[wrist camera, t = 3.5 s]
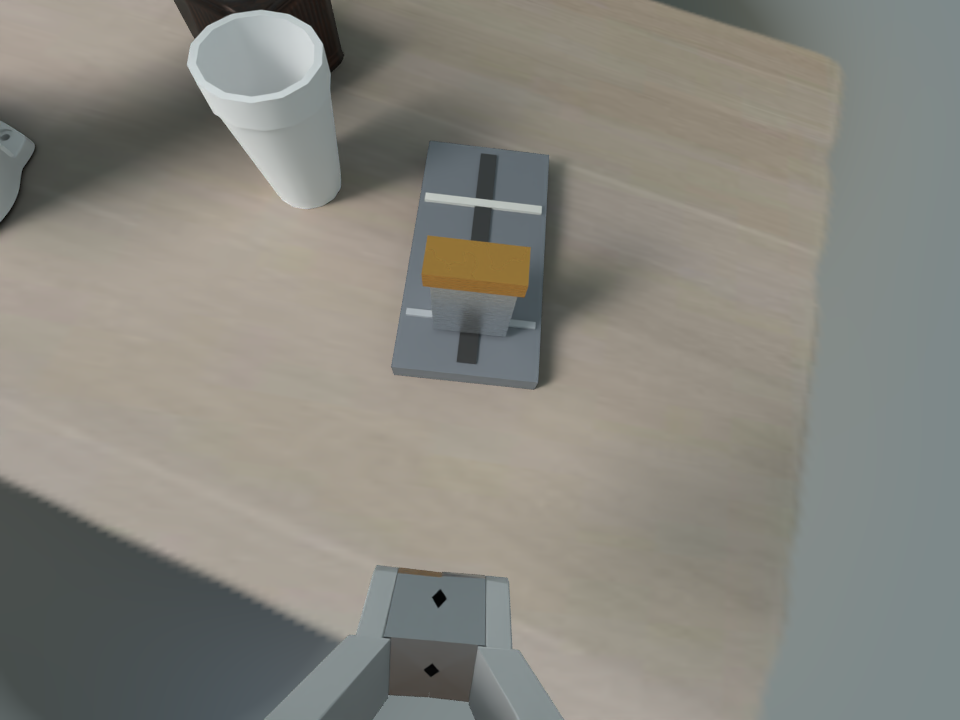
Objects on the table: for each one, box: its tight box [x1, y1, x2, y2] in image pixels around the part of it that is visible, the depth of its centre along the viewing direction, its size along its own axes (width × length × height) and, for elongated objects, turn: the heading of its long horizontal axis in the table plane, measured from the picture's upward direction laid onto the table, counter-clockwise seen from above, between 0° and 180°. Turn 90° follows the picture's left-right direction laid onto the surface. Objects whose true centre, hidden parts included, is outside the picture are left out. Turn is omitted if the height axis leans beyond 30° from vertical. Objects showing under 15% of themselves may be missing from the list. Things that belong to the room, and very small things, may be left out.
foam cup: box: [187, 10, 341, 209], centre depth 39 cm, size 10×9×13 cm
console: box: [391, 141, 549, 390], centre depth 42 cm, size 24×12×2 cm, turn 175°
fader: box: [421, 235, 531, 337], centre depth 34 cm, size 3×7×9 cm, turn 85°
